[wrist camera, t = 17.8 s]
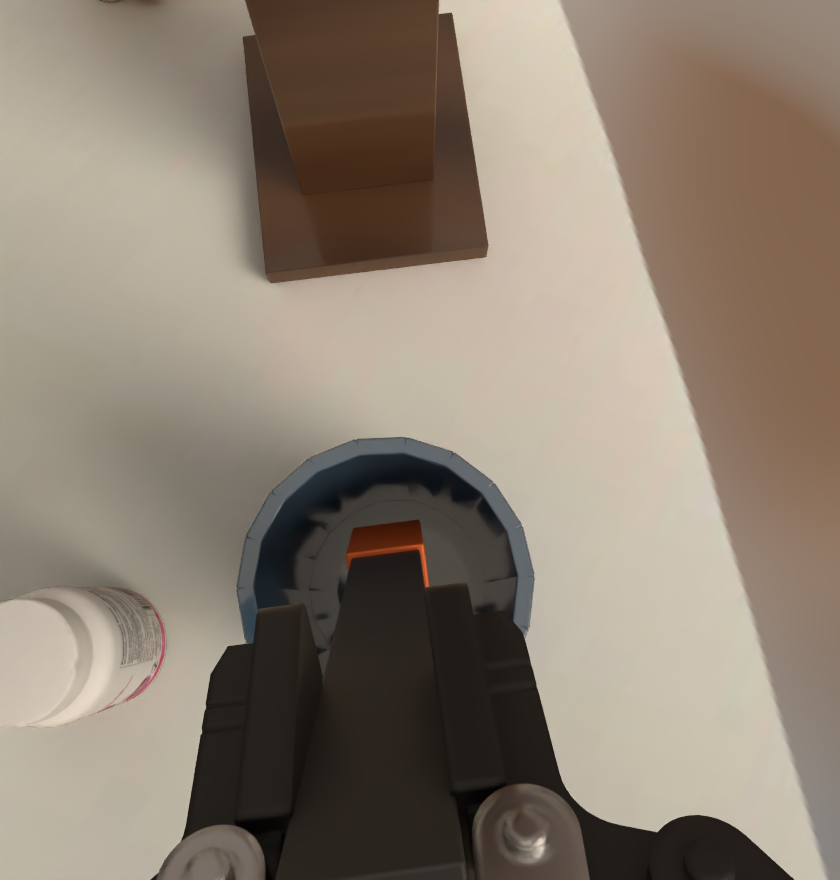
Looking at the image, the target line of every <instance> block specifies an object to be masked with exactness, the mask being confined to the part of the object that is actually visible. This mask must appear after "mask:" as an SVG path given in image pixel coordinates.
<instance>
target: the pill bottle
mask: <svg viewBox="0 0 840 880" xmlns="http://www.w3.org/2000/svg"><path fill="white" fill-rule="evenodd" d="M166 645H167V643H166V631H165V627H164V624H163V621H162V619H161V616H160V615H159V613H158V611H157V610H156V609H155V607H154V606H153V605H152V604H151V603H150V602H149V601H148V600H146V599H145V598H144V597H142V596H140V595H139V594H137V593H134V592H132V591H129V590H125V589H120V588H89V587H48V588H42V589H38V590H34V591H31V592H28V593H26V594H24V595H22V596H20V597H18V598H16V599H11V600H6V601H3V602H0V727H20V726H29V727H35V728H48V727H55V726H60V725H64V724H68V723H70V722H73V721H75V720H78V719H81V718H84V717H87V716H89V715H92V714H95V713H98V712H100V711H103V710H106V709H108V708H111V707H113V706H116V705H119V704H122V703H124V702H126V701H129V700H131V699H133V698H134V697H136V696H138V695H139V694H141V693H142V692H143V691H144V690H145V689H146V688H147V687H149V685H150V684H151V683H152V682H153V681H154V679H155V678H156V676H157V675H158V673H159V671H160V669H161V667H162V665H163V662H164V659H165V655H166Z"/></svg>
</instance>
